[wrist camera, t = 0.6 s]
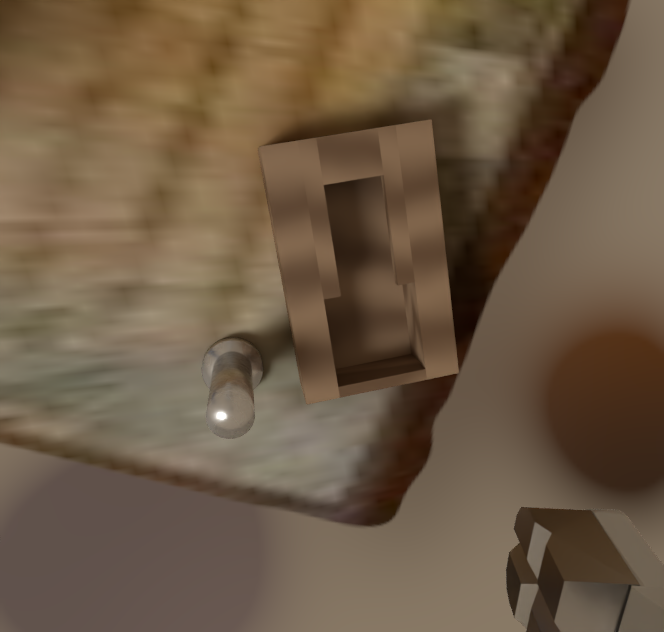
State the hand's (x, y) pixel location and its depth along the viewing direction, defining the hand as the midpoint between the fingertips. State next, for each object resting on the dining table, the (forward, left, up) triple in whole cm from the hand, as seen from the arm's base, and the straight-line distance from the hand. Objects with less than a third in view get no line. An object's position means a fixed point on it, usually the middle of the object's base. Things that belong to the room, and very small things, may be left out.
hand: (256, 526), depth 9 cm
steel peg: (+12, -3, -45) cm, 47 cm away
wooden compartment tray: (+4, +10, -45) cm, 46 cm away
